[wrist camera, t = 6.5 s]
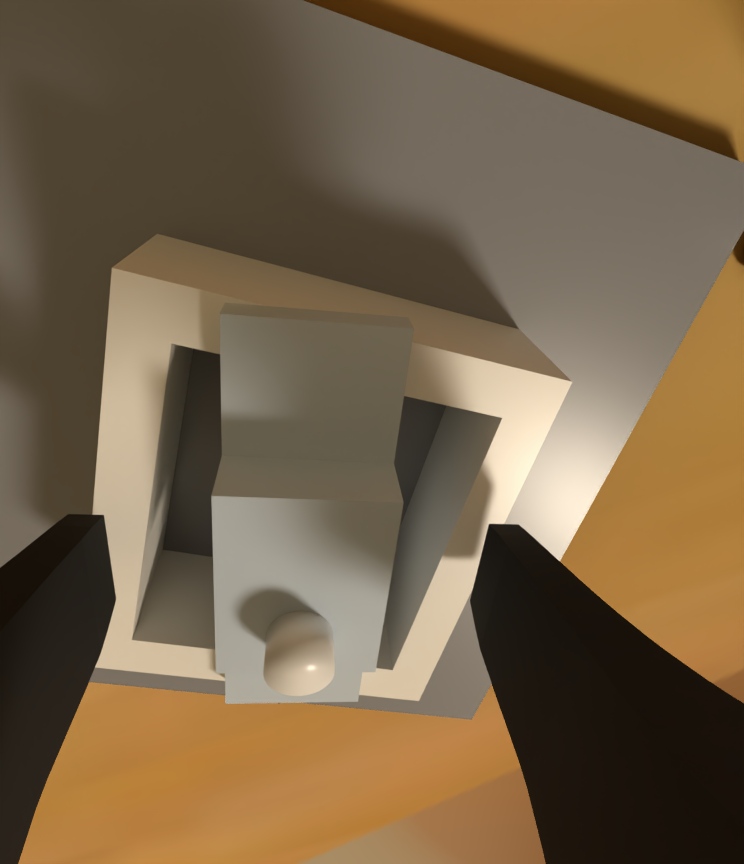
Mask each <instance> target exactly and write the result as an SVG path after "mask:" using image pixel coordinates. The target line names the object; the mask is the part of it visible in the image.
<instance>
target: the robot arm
mask: <svg viewBox="0 0 744 864" xmlns="http://www.w3.org/2000/svg"><path fill="white" fill-rule="evenodd" d="M115 602H116V594H115V587H114V581H113V574H112V567H111V560H110V553H109V546H108V539H107V533H106V526H105V519H104V515H89V514H68V515H66V516H65V517H64V518H62V519H61V520H60V521H58V522H57V523H56V524H54V525H53V526H52V527H51V528H49V529H48V530H47V531H46V532H44V533H43V534H42V535H41V536H39V537H38V538H37V539H36V540H34V541H33V542H32V543H31V544H29V545H28V546H27V547H26V548H24V549H23V550H22V551H21V552H19V553H18V554H17V555H16V556H14V557H13V558H12V559H11V560H9V561H8V562H7V563H5V564H4V565H3V566H2V567H0V864H18V862H19V859H20V856H21V853H22V850H23V847H24V844H25V841H26V838H27V835H28V831H29V828H30V825H31V822H32V819H33V816H34V813H35V810H36V807H37V804H38V802H39V799H40V797H41V794H42V791H43V789H44V786H45V784H46V781H47V778H48V776H49V774H50V771H51V769H52V767H53V764H54V762H55V760H56V757H57V755H58V753H59V750H60V748H61V746H62V743H63V741H64V739H65V736H66V734H67V732H68V729H69V727H70V725H71V722H72V720H73V718H74V716H75V713H76V711H77V709H78V706H79V704H80V702H81V699H82V697H83V695H84V692H85V690H86V687H87V685H88V683H89V680H90V678H91V676H92V673H93V671H94V669H95V666H96V664H97V661H98V659H99V656H100V654H101V651H102V648H103V645H104V641H105V638H106V635H107V631H108V628H109V624H110V621H111V617H112V613H113V610H114V606H115ZM470 604H471V609H472V614H473V619H474V624H475V629H476V634H477V638H478V642H479V647H480V651H481V654H482V657H483V660H484V663H485V665H486V668H487V671H488V674H489V677H490V680H491V683H492V686H493V689H494V692H495V694H496V697H497V700H498V703H499V706H500V709H501V711H502V714H503V717H504V720H505V723H506V726H507V728H508V731H509V734H510V737H511V740H512V743H513V745H514V748H515V751H516V754H517V757H518V760H519V763H520V766H521V769H522V772H523V775H524V779H525V782H526V785H527V789H528V793H529V797H530V801H531V805H532V808H533V813H534V817H535V820H536V825H537V828H538V833H539V837H540V841H541V845H542V848H543V853H544V858H545V862H546V864H744V703H742V702H741V701H739V700H737V699H736V698H734V697H732V696H731V695H729V694H728V693H726V692H724V691H723V690H721V689H720V688H719V687H717V686H716V685H714V684H712V683H711V682H709V681H708V680H706V679H705V678H704V677H702V676H701V675H699V674H698V673H696V672H695V671H694V670H692V669H691V668H689V667H688V666H687V665H685V664H684V663H682V662H681V661H679V660H678V659H677V658H675V657H674V656H672V655H671V654H670V653H668V652H667V651H665V650H664V649H663V648H661V647H660V646H659V645H657V644H656V643H655V642H653V641H652V640H651V639H650V638H648V637H647V636H646V635H645V634H643V633H642V632H641V631H640V630H638V629H637V628H636V627H635V626H633V625H632V624H631V623H630V622H628V621H627V620H626V619H625V618H623V617H622V616H621V615H620V614H618V613H617V612H616V611H615V610H614V609H613V608H611V607H610V606H609V605H608V604H607V603H606V602H604V601H603V600H602V599H601V598H600V597H599V596H597V595H596V594H595V593H594V592H593V591H592V590H591V589H589V588H588V587H587V586H586V585H585V584H584V583H583V582H582V581H580V580H579V579H578V578H577V577H576V576H575V575H574V574H573V573H572V572H571V571H569V570H568V569H567V568H566V567H565V566H564V565H563V564H562V563H561V562H560V561H559V560H558V559H556V558H555V557H554V556H553V555H552V554H551V553H550V552H549V551H548V550H547V549H546V548H545V547H543V546H542V545H541V544H540V543H539V542H538V541H537V540H536V539H535V538H534V537H533V536H531V535H530V534H529V533H528V532H527V531H526V530H525V529H523V528H522V527H521V526H520V525H519V524H489V526H488V530H487V534H486V538H485V542H484V546H483V550H482V554H481V558H480V562H479V566H478V570H477V574H476V578H475V582H474V586H473V590H472V594H471V598H470Z"/></svg>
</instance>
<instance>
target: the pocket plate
mask: <svg viewBox="0 0 744 864" xmlns="http://www.w3.org/2000/svg"><path fill="white" fill-rule="evenodd" d="M743 231H744V163H743V162H740V161H737V160H735V159H732V158H729V157H727V156H724V155H721V154H718V153H716V152H713V151H710V150H708V149H705V148H702V147H699V146H697V145H694V144H691V143H689V142H686V141H683V140H681V139H678V138H675V137H672V136H670V135H667V134H664V133H662V132H659V131H656V130H653V129H651V128H648V127H645V126H643V125H640V124H637V123H634V122H632V121H629V120H626V119H624V118H621V117H618V116H615V115H613V114H610V113H607V112H605V111H602V110H599V109H597V108H594V107H591V106H588V105H586V104H583V103H580V102H578V101H575V100H572V99H569V98H567V97H564V96H561V95H559V94H556V93H553V92H550V91H548V90H545V89H542V88H540V87H537V86H534V85H532V84H529V83H526V82H523V81H521V80H518V79H515V78H513V77H510V76H507V75H504V74H502V73H499V72H496V71H494V70H491V69H488V68H485V67H483V66H480V65H477V64H475V63H472V62H469V61H466V60H464V59H461V58H458V57H456V56H453V55H450V54H448V53H445V52H442V51H439V50H437V49H434V48H431V47H429V46H426V45H423V44H420V43H418V42H415V41H412V40H410V39H407V38H404V37H401V36H399V35H396V34H393V33H391V32H388V31H385V30H382V29H380V28H377V27H374V26H372V25H369V24H366V23H364V22H361V21H358V20H355V19H353V18H350V17H347V16H345V15H342V14H339V13H336V12H334V11H331V10H328V9H326V8H323V7H320V6H317V5H315V4H312V3H309V2H307V1H304V0H0V567H2V566H3V565H4V564H5V563H7V562H8V561H9V560H11V559H12V558H13V557H14V556H16V555H17V554H18V553H19V552H21V551H22V550H23V549H24V548H26V547H27V546H28V545H29V544H31V543H32V542H33V541H34V540H36V539H37V538H38V537H39V536H41V535H42V534H43V533H44V532H46V531H47V530H48V529H49V528H51V527H52V526H53V525H54V524H56V523H57V522H58V521H60V520H61V519H62V518H64V517H65V516H66V515H68V514H89V515H104V519H105V526H106V533H107V539H108V546H109V553H110V560H111V567H112V574H113V581H114V587H115V594H116V602H115V606H114V610H113V613H112V617H111V621H110V624H109V628H108V631H107V635H106V638H105V641H104V645H103V648H102V651H101V654H100V656H99V659H98V661H97V664H96V666H95V669H94V671H93V673H92V676H91V678H90V680H89V682H95V683H105V684H115V685H125V686H136V687H146V688H156V689H166V690H176V691H186V692H197V693H207V694H217V695H225V673H216V655H215V616H214V577H213V539H212V500H211V496H212V492H213V488H214V484H215V480H216V476H217V472H218V468H219V465H220V461H221V457H222V435H221V368H220V312H221V310H222V308H223V305H224V303H236V304H248V305H261V306H273V307H286V308H298V309H311V310H323V311H336V312H348V313H360V314H373V315H385V316H398V317H408V318H409V320H410V322H411V324H412V326H413V328H414V333H413V340H412V346H411V353H410V360H409V366H408V373H407V379H406V386H405V393H404V399H403V406H402V413H401V419H400V426H399V433H398V439H397V446H396V452H395V459H394V466H395V470H396V474H397V478H398V482H399V486H400V490H401V494H402V498H403V502H404V504H403V510H402V516H401V522H400V528H399V534H398V540H397V546H396V552H395V558H394V564H393V570H392V576H391V582H390V588H389V594H388V600H387V606H386V612H385V618H384V624H383V630H382V636H381V642H380V648H379V654H378V660H377V666H376V672H362V678H361V685H360V691H359V698H358V702H307V703H308V704H318V705H329V706H339V707H349V708H359V709H369V710H379V711H390V712H400V713H410V714H420V715H430V716H440V717H451V718H461V719H471V720H472V718H473V716H474V714H475V713H476V711H477V709H478V707H479V705H480V704H481V702H482V700H483V698H484V697H485V695H486V693H487V691H488V689H489V688H490V686H491V684H492V683H491V680H490V677H489V674H488V671H487V668H486V665H485V663H484V660H483V657H482V654H481V651H480V647H479V642H478V638H477V634H476V629H475V624H474V619H473V614H472V609H471V604H470V598H471V594H472V590H473V586H474V582H475V578H476V574H477V570H478V566H479V562H480V558H481V554H482V550H483V546H484V542H485V538H486V534H487V530H488V526H489V524H519V525H520V526H521V527H522V528H523V529H525V530H526V531H527V532H528V533H529V534H530V535H531V536H533V537H534V538H535V539H536V540H537V541H538V542H539V543H540V544H541V545H542V546H543V547H545V548H546V549H547V550H548V551H549V552H550V553H551V554H552V555H553V556H554V557H555V558H556V559H558V560H559V561H560V560H561V558H562V556H563V554H564V553H565V551H566V549H567V547H568V545H569V544H570V542H571V540H572V538H573V536H574V535H575V533H576V531H577V529H578V527H579V526H580V524H581V522H582V520H583V518H584V517H585V515H586V513H587V511H588V509H589V508H590V506H591V504H592V502H593V500H594V499H595V497H596V495H597V493H598V491H599V490H600V488H601V486H602V484H603V482H604V481H605V479H606V477H607V475H608V473H609V472H610V470H611V468H612V466H613V464H614V463H615V461H616V459H617V457H618V455H619V454H620V452H621V450H622V448H623V446H624V445H625V443H626V441H627V439H628V437H629V436H630V434H631V432H632V430H633V428H634V427H635V425H636V423H637V421H638V419H639V418H640V416H641V414H642V412H643V410H644V409H645V407H646V405H647V403H648V401H649V400H650V398H651V396H652V394H653V393H654V391H655V389H656V387H657V385H658V384H659V382H660V380H661V378H662V376H663V375H664V373H665V371H666V369H667V367H668V366H669V364H670V362H671V360H672V358H673V357H674V355H675V353H676V351H677V349H678V348H679V346H680V344H681V342H682V340H683V339H684V337H685V335H686V333H687V331H688V330H689V328H690V326H691V324H692V322H693V321H694V319H695V317H696V315H697V313H698V312H699V310H700V308H701V306H702V304H703V303H704V301H705V299H706V297H707V295H708V294H709V292H710V290H711V288H712V286H713V285H714V283H715V281H716V279H717V277H718V276H719V274H720V272H721V270H722V268H723V267H724V265H725V263H726V261H727V259H728V258H729V256H730V254H731V252H732V250H733V249H734V247H735V245H736V243H737V241H738V240H739V238H740V236H741V234H742V232H743Z"/></svg>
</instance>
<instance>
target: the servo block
mask: <svg viewBox="0 0 744 864" xmlns="http://www.w3.org/2000/svg"><path fill="white" fill-rule="evenodd" d="M413 333H414V328H413V326H412V324H411V322H410V320H409V318H408V317H398V316H385V315H373V314H360V313H348V312H336V311H323V310H311V309H298V308H286V307H273V306H261V305H248V304H236V303H224V305H223V308H222V310H221V312H220V368H221V435H222V457H221V461H220V465H219V468H218V472H217V476H216V480H215V484H214V488H213V492H212V496H211V500H212V539H213V577H214V616H215V655H216V673H225V704H239V703H307V702H358V698H359V691H360V685H361V678H362V672H376V666H377V660H378V654H379V648H380V642H381V636H382V630H383V624H384V618H385V612H386V606H387V600H388V594H389V588H390V582H391V576H392V570H393V564H394V558H395V552H396V546H397V540H398V534H399V528H400V522H401V516H402V510H403V504H404V502H403V498H402V494H401V490H400V486H399V482H398V478H397V474H396V470H395V466H394V459H395V452H396V446H397V439H398V433H399V426H400V419H401V413H402V406H403V399H404V393H405V386H406V379H407V373H408V366H409V360H410V353H411V346H412V340H413Z"/></svg>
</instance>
